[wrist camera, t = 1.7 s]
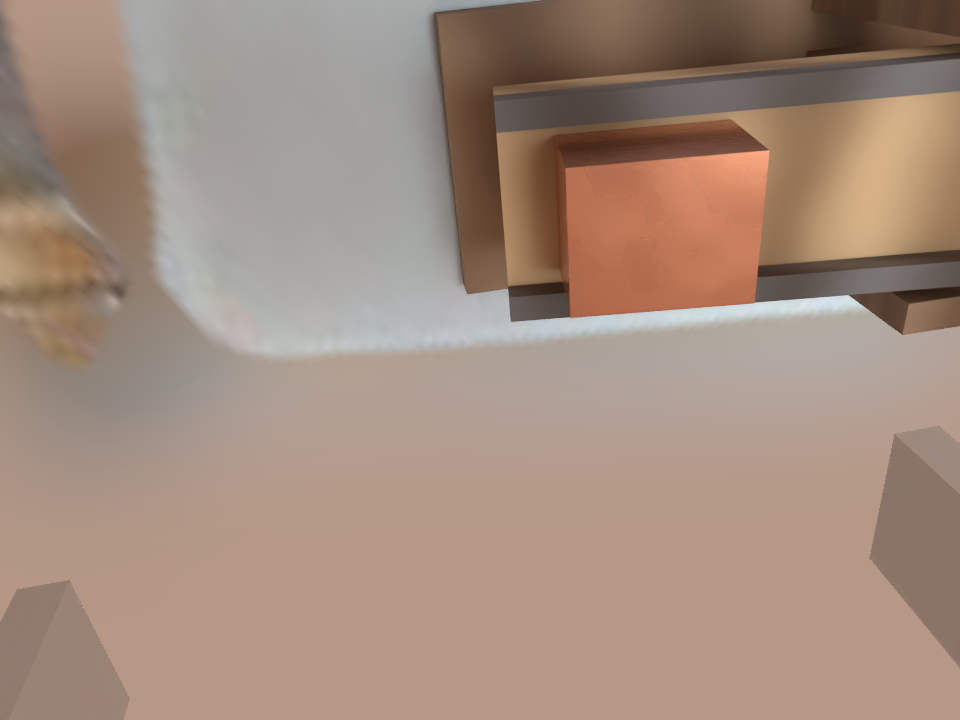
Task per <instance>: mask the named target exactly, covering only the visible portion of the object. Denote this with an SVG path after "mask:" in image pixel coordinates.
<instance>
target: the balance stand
mask: <svg viewBox="0 0 960 720" xmlns="http://www.w3.org/2000/svg"><path fill="white" fill-rule="evenodd" d="M435 22H436V31H437V40H438V49H439V59H440V68H441V77H442V86H443V95H444V105H445V114H446V123H447V132H448V142H449V151H450V160H451V169H452V178H453V188H454V197H455V206H456V215H457V224H458V234H459V243H460V252H461V261H462V271H463V280H464V286H465V289H466V292H467V294H472V293H479V292H486V291H493V290H500V289H507V288H508V277H507V264H506V251H505V238H504V225H503V212H502V199H501V187H500V174H499V161H498V148H497V135H496V122H495V109H494V96H493V87H495V86H506V85H517V84H527V83H538V82H549V81H560V80H571V79H581V78H592V77H603V76H614V75H625V74H635V73H646V72H657V71H668V70H678V69H689V68H700V67H711V66H722V65H732V64H743V63H754V62H765V61H775V60H786V59H797V58H808V57H819V56H829V55H840V54H851V53H862V52H873V51H883V50H894V49H905V48H916V47H926V46H937V45H948V44H959V43H960V0H543V1H534V2H525V3H516V4H507V5H498V6H489V7H481V8H472V9H463V10H454V11H445V12H436V13H435ZM849 296H851V297H852V298H853V299H855V300H856V301H857V302H859V303H860V304H861V305H863V306H864V307H865V308H867V309H868V310H870V311H871V312H872V313H874V314H875V315H876V316H878V317H879V318H880V319H882V320H883V321H885V322H886V323H887V324H888V325H890V326H891V327H893V328H894V329H895V330H897V331H898V332H899V333H901V334H902V335H905V334H911V333H918V332H924V331H931V330H937V329H944V328H951V327H957V326H960V286H956V287H943V288H930V289H918V290H905V291H893V292H880V293H867V294H855V295H849Z"/></svg>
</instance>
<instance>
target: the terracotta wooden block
mask: <svg viewBox="0 0 960 720" xmlns="http://www.w3.org/2000/svg"><path fill="white" fill-rule="evenodd" d="M554 144H555V168H556V193H557V218H558V243H559V267H560V274H561V278H562V282H563V287H564V291H565V296H566V300H567V305H568V309H569V314H570V318H574V317H587V316H599V315H612V314H625V313H637V312H650V311H663V310H675V309H688V308H700V307H713V306H726V305H738V304H751V303H755V294H756V284H757V273H758V263H759V253H760V243H761V233H762V223H763V212H764V202H765V192H766V182H767V172H768V162H769V151H770V150H769V149H767V148H766V147H765V146H764V145H763V144H761V143H760V142H759V141H758V140H756V139H755V138H754V137H753V136H751V135H750V134H749V133H748V132H747V131H745V130H744V129H743V128H742V127H740V126H739V125H738V124H737V123H735V122H734V121H733V120H732V119H727V120H716V121H705V122H693V123H682V124H671V125H660V126H649V127H638V128H626V129H615V130H604V131H593V132H582V133H571V134H559V135H554Z"/></svg>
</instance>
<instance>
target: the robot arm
mask: <svg viewBox="0 0 960 720" xmlns="http://www.w3.org/2000/svg"><path fill="white" fill-rule="evenodd" d="M870 559H871V560H872V561H873V563H874V564H875V565H876V566H877V567H878V569H879V570H880V571H881V573H882V574H883V575H884V576H885V577H886V579H887V580H888V581H889V582H890V584H891V585H892V586H893V587H894V588H895V590H896V591H897V592H898V593H899V594H900V596H901V597H902V598H903V599H904V601H905V602H906V603H907V604H908V605H909V607H910V608H911V609H912V610H913V611H914V613H915V614H916V615H917V616H918V618H919V619H920V620H921V621H922V622H923V624H924V625H925V626H926V627H927V628H928V630H929V631H930V632H931V633H932V635H933V636H934V637H935V638H936V639H937V641H938V642H939V643H940V644H941V645H942V647H943V648H944V649H945V650H946V652H947V653H948V654H949V655H950V656H951V658H952V659H953V660H954V661H955V662H956V664H957V665H958V666H959V667H960V443H958V442H957V441H956V440H955V439H954V438H952V437H951V436H950V435H949V434H948V433H947V432H945V431H944V430H943V429H942V428H941V427H939V426H937V427H931V428H925V429H919V430H914V431H908V432H902V433H897V434H895V435H894V440H893V444H892V449H891V455H890V459H889V464H888V470H887V474H886V480H885V484H884V489H883V494H882V500H881V504H880V509H879V514H878V519H877V524H876V529H875V534H874V539H873V544H872V549H871V554H870ZM129 699H130V698H129V696H128V694H127V692H126V690H125V688H124V686H123V684H122V682H121V680H120V678H119V676H118V675H117V672H116V671H115V668H114V666H113V665H112V663H111V661H110V659H109V657H108V655H107V653H106V651H105V649H104V647H103V645H102V643H101V641H100V639H99V637H98V635H97V633H96V631H95V629H94V628H93V625H92V624H91V622H90V620H89V618H88V616H87V614H86V612H85V610H84V608H83V606H82V604H81V602H80V600H79V598H78V596H77V594H76V592H75V590H74V589H73V586H72V584H71V583H70V581H69V580H68V581H62V582H57V583H51V584H45V585H40V586H34V587H29V588H23V589H17V590H16V593H15V595H14V596H13V598H12V600H11V602H10V604H9V607H8V608H7V610H6V612H5V614H4V616H3V618H2V620H1V622H0V720H124V716H125V713H126V709H127V706H128V703H129Z"/></svg>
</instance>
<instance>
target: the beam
mask: <svg viewBox="0 0 960 720" xmlns="http://www.w3.org/2000/svg"><path fill="white" fill-rule="evenodd" d="M493 96H494V109H495V122H496V135H497V148H498V161H499V174H500V187H501V199H502V212H503V225H504V238H505V251H506V264H507V277H508V290H509V303H510V316H511V322H514V321H526V320H539V319H552V318H564V317H570V314H569V309H568V305H567V300H566V296H565V291H564V287H563V282H562V278H561V274H560V267H559V243H558V218H557V193H556V168H555V144H554V135H559V134H571V133H582V132H593V131H604V130H615V129H626V128H638V127H649V126H660V125H671V124H682V123H693V122H705V121H716V120H727V119H732V120H733V121H734V122H735V123H737V124H738V125H739V126H740V127H742V128H743V129H744V130H745V131H747V132H748V133H749V134H750V135H751V136H753V137H754V138H755V139H756V140H758V141H759V142H760V143H761V144H763V145H764V146H765V147H766V148H767V149H769V150H770V151H769V162H768V172H767V182H766V192H765V202H764V212H763V223H762V233H761V243H760V253H759V263H758V273H757V284H756V294H755V302H766V301H779V300H792V299H804V298H817V297H829V296H842V295H855V294H867V293H880V292H893V291H905V290H918V289H930V288H943V287H956V286H960V43H959V44H948V45H937V46H926V47H916V48H905V49H894V50H883V51H873V52H862V53H851V54H840V55H829V56H819V57H808V58H797V59H786V60H775V61H765V62H754V63H743V64H732V65H722V66H711V67H700V68H689V69H678V70H668V71H657V72H646V73H635V74H625V75H614V76H603V77H592V78H581V79H571V80H560V81H549V82H538V83H527V84H517V85H506V86H495V87H493Z"/></svg>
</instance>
